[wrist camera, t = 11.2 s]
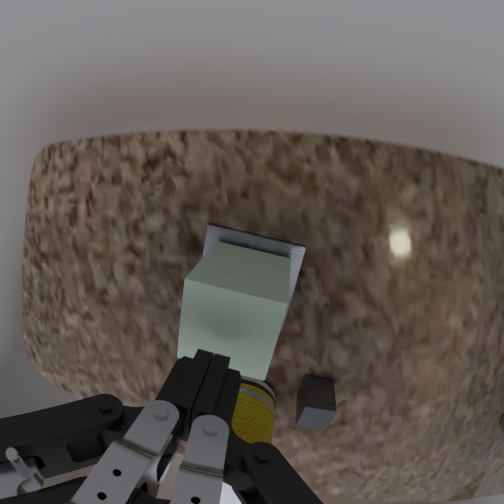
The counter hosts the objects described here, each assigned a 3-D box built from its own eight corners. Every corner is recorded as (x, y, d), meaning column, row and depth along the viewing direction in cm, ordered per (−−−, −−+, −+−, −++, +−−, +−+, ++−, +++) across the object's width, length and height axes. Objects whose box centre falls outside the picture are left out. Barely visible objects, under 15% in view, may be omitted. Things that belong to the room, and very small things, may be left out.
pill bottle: (219, 363, 26) (182, 463, 16) (285, 382, 26) (275, 487, 15) (206, 405, 28) (173, 494, 18) (264, 422, 28) (249, 514, 17)
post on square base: (305, 246, 22) (309, 287, 15) (281, 328, 24) (275, 388, 17) (209, 223, 22) (173, 254, 15) (196, 306, 24) (164, 358, 18)
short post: (333, 379, 25) (336, 411, 21) (323, 398, 26) (325, 430, 22) (305, 374, 25) (305, 406, 21) (297, 394, 26) (295, 426, 22)
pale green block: (290, 258, 21) (287, 303, 15) (273, 322, 23) (264, 380, 17) (216, 241, 21) (184, 278, 15) (206, 305, 23) (177, 357, 17)
